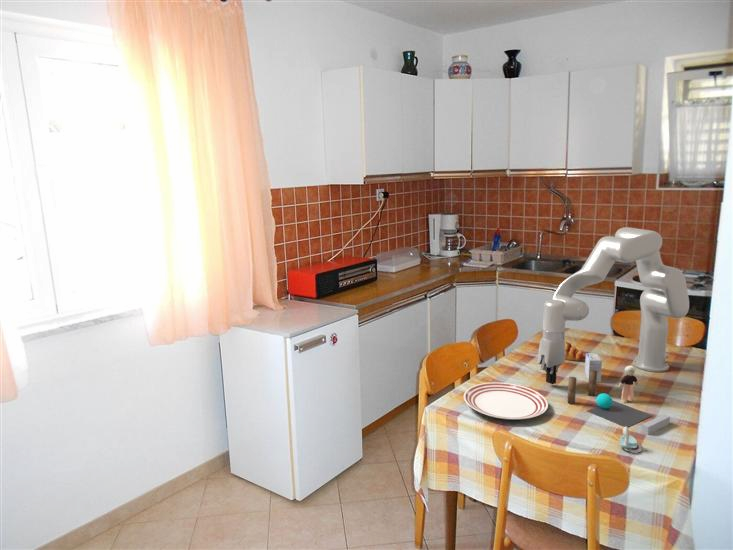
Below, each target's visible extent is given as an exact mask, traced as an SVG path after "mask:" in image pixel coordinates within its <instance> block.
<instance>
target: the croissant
mask: <svg viewBox="0 0 733 550" xmlns="http://www.w3.org/2000/svg"><path fill="white" fill-rule="evenodd" d="M585 357H586V353H584V352H583V351H581V350H578V349H577V347H576V346H573V345H572V344H571V342H568V341H565V360H564V361H566V360H567V361H569V360H570V361H575V362H577V361H580V362H581V361H583V360H585Z"/></svg>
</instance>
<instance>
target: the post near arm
mask: <svg viewBox="0 0 733 550" xmlns="http://www.w3.org/2000/svg"><path fill="white" fill-rule="evenodd" d="M596 381H597V370H595V369H590V374H589V381H588V389H587V390H588V393H587V396H590V397H596V394H597V393H596V392H597V382H596Z"/></svg>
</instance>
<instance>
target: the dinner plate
mask: <svg viewBox="0 0 733 550" xmlns="http://www.w3.org/2000/svg"><path fill="white" fill-rule="evenodd" d="M463 400H464V402H465V403H466V404H467V406H469V407H470V408H471V409H473V410H474V411H476V412H477V413H480V414H483V415H486V416H489V417H491V418H496V419H502V420H526V419H532V418H535V417H539V416H541V415H542V414H544V413H545V412H547V410H548V409H549V403H548V401H547V398H546V397H544V395H542V394H541V393H540V392H538V391H536V390H534V389H532V388H529V387H526V386H523V385H519V384H514V383H509V382H500V381H499V382H494V381H492V382H484V383H482V382H481V383H479V384H476V385H472V386H471V387H469V388H468V389H466V390H465V391H464V393H463Z"/></svg>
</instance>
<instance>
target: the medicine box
mask: <svg viewBox="0 0 733 550" xmlns="http://www.w3.org/2000/svg"><path fill="white" fill-rule="evenodd" d="M585 354H586V357H585V359H584V360H585V361H584V362H585V363H584V375H585V378H586V379H587V381H588V382H589V374H590V369H595V370H597V381H596V383H601V382H602V367H603V365H602V364H603V361H602V359H601V357H600V355H599V354H598V353H595V352H594V353H593V352H590V353H589V352H588V353H587V352H586V353H585Z"/></svg>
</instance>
